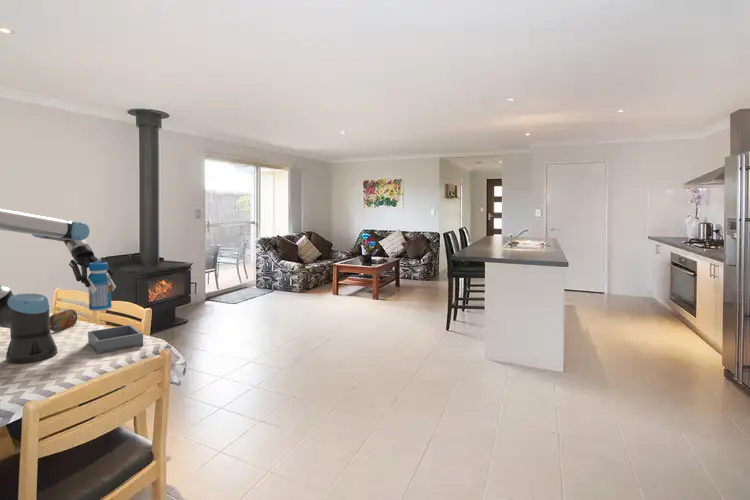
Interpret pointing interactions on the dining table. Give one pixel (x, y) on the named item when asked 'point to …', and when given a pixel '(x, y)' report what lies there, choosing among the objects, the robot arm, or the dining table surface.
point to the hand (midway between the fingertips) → (104, 290)
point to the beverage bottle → (100, 287)
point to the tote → (115, 339)
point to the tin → (63, 320)
